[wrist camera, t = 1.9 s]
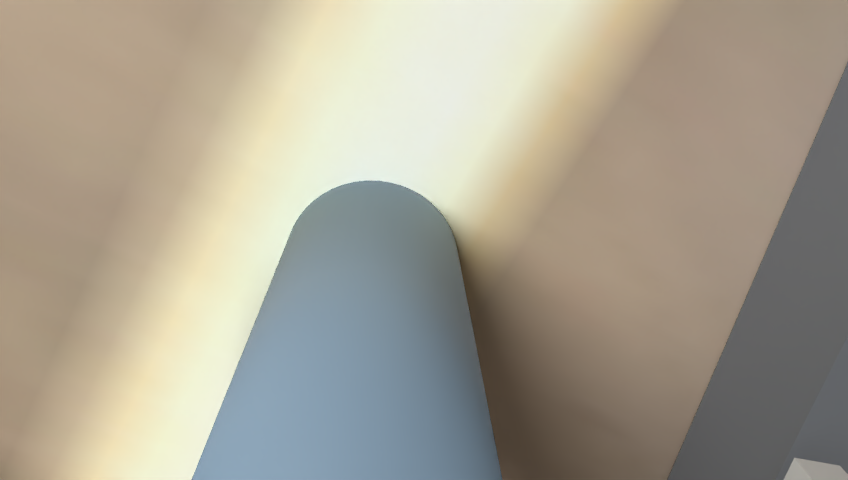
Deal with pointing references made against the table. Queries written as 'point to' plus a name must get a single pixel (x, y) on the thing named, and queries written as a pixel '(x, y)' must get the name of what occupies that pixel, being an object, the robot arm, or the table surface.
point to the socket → (786, 337)
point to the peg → (359, 354)
